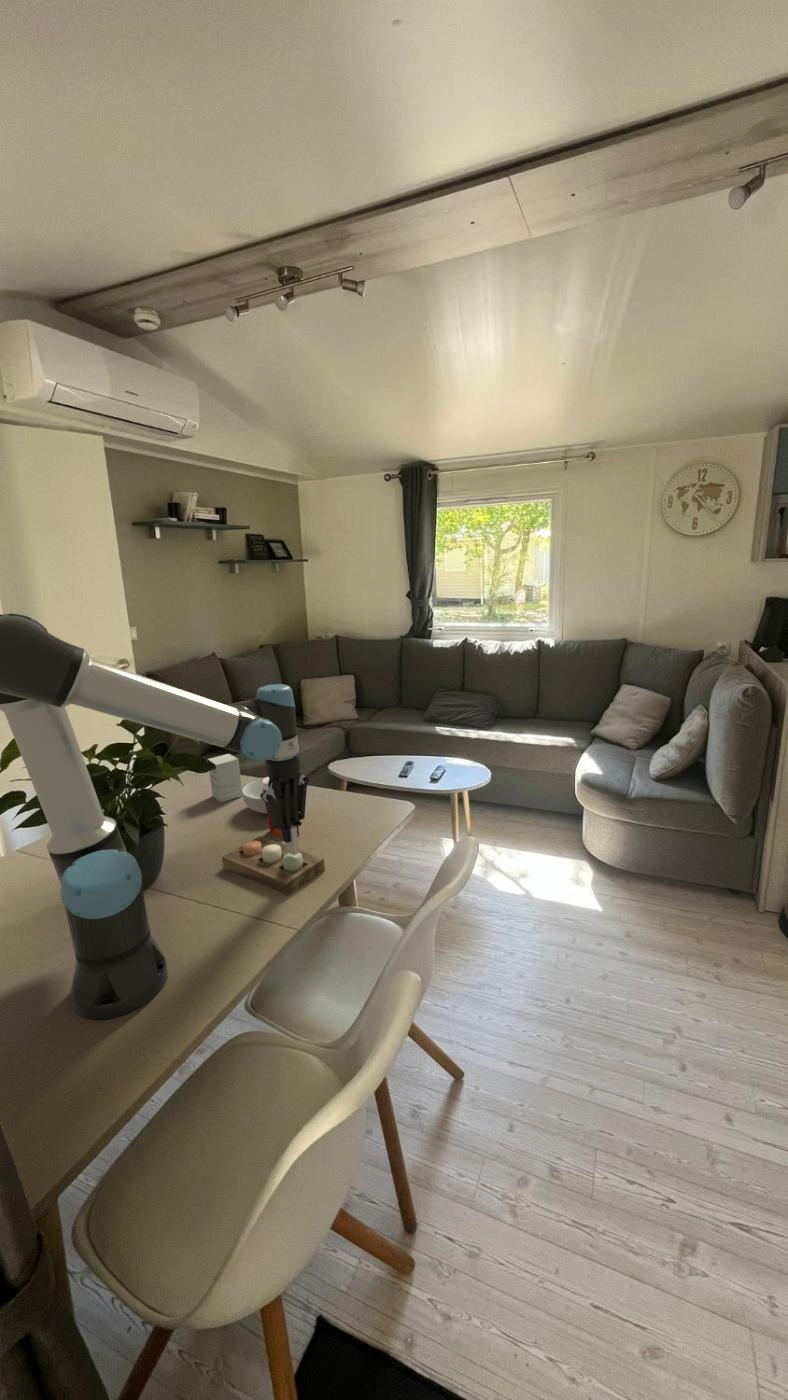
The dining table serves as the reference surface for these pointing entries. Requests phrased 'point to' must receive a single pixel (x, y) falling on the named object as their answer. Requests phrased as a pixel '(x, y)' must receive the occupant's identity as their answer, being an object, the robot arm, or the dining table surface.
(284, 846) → the walnut panel
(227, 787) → the supplement box
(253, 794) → the cereal bowl
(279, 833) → the coffee cup
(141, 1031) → the dining table surface
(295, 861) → the pale green rounded block
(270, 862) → the cream rounded piece
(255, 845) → the brown egg
